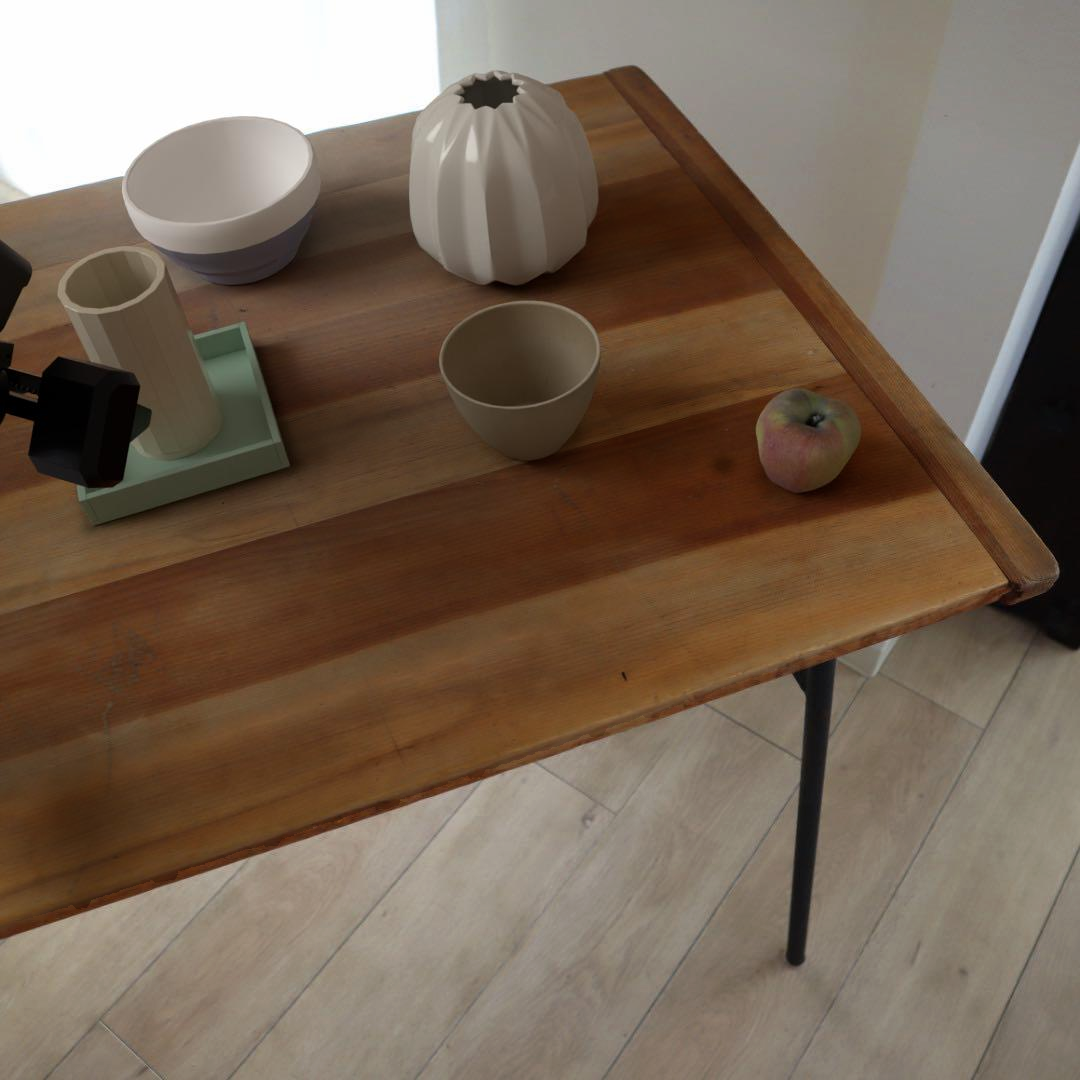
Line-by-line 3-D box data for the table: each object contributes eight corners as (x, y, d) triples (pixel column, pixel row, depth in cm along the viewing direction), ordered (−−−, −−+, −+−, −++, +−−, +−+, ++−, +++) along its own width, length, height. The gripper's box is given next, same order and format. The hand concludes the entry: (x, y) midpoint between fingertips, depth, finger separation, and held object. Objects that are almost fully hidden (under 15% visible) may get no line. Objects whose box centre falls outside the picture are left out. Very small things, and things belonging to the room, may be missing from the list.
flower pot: (609, 382, 80) (605, 298, 75) (599, 491, 74) (595, 409, 69) (465, 380, 82) (451, 298, 76) (443, 487, 75) (426, 406, 70)
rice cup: (174, 473, 77) (106, 326, 68) (110, 438, 80) (35, 291, 70) (242, 414, 80) (186, 265, 71) (178, 382, 83) (115, 234, 73)
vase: (433, 199, 95) (407, 41, 85) (604, 198, 94) (599, 36, 84) (405, 310, 87) (371, 148, 77) (593, 311, 85) (584, 146, 75)
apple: (716, 449, 76) (720, 381, 71) (838, 428, 76) (849, 360, 71) (742, 519, 72) (748, 452, 67) (869, 496, 72) (884, 428, 68)
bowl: (145, 324, 88) (109, 240, 82) (161, 211, 97) (129, 128, 92) (338, 297, 88) (316, 211, 83) (335, 187, 98) (315, 103, 92)
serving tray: (92, 526, 75) (78, 501, 74) (74, 397, 83) (61, 372, 82) (290, 466, 77) (281, 441, 76) (253, 346, 86) (244, 320, 84)
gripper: (42, 252, 53) (241, 299, 67) (-254, 181, 58) (-11, 239, 73) (1, 493, 54) (205, 488, 69) (-283, 402, 60) (-40, 415, 75)
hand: (86, 400), depth 71 cm, fingers open, 9 cm apart
